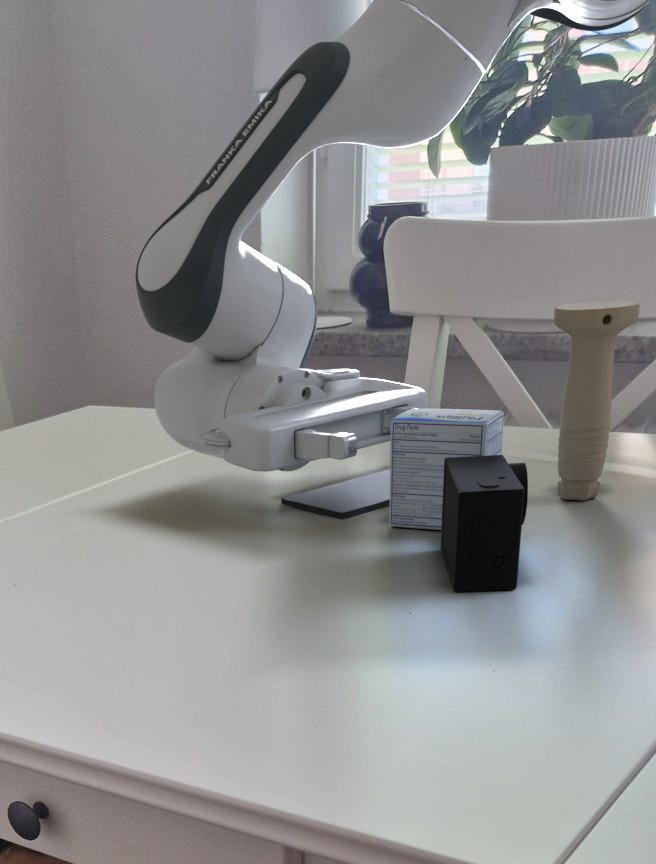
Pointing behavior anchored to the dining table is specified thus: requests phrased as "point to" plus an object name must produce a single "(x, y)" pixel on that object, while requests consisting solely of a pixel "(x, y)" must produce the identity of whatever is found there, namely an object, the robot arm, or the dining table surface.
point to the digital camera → (483, 521)
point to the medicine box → (434, 458)
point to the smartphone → (346, 496)
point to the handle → (588, 391)
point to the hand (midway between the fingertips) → (392, 437)
